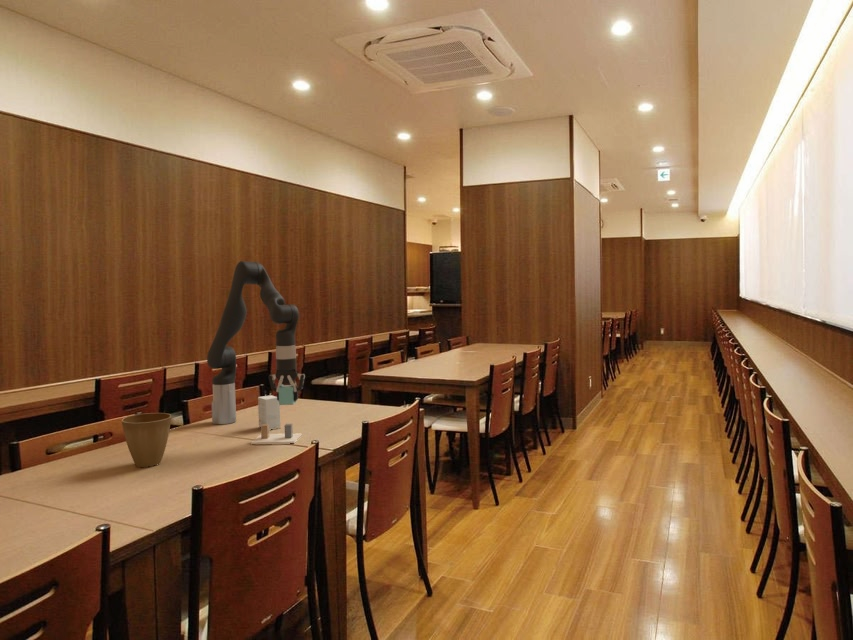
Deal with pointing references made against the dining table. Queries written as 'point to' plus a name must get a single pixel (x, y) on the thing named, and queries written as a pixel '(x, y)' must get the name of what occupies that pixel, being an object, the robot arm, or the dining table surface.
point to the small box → (269, 411)
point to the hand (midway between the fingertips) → (287, 401)
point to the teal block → (286, 395)
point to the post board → (276, 436)
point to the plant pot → (147, 437)
